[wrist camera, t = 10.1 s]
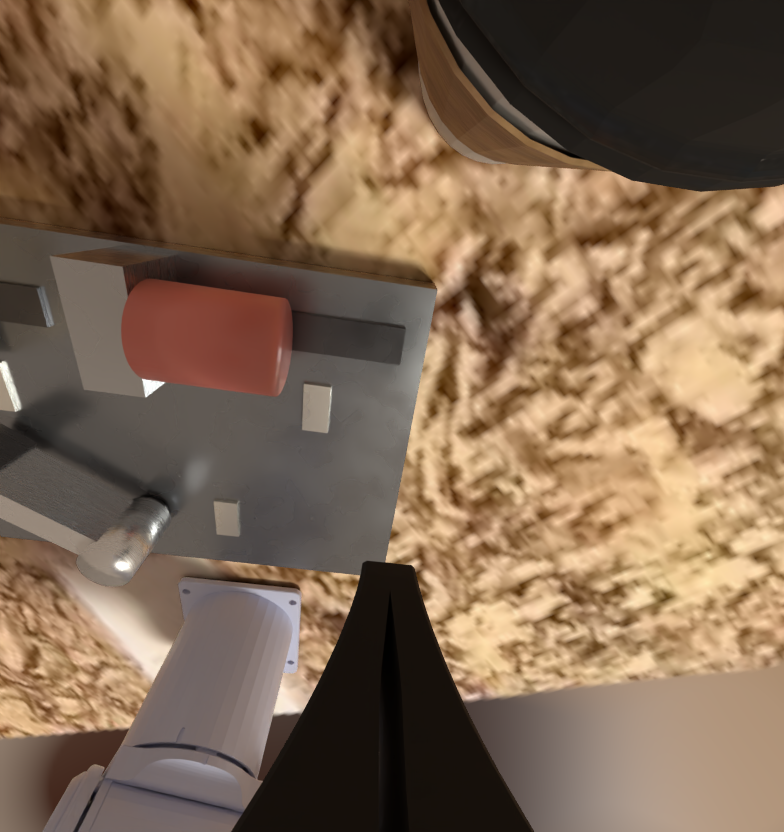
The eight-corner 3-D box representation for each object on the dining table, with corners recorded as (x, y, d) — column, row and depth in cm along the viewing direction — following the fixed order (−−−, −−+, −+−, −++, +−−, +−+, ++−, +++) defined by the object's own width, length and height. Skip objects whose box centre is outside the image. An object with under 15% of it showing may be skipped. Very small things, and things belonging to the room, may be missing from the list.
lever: (179, 513, 21) (140, 567, 18) (159, 538, 22) (119, 593, 18) (0, 416, 18) (-82, 459, 15) (-14, 448, 19) (-94, 496, 16)
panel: (382, 557, 25) (379, 628, 21) (19, 517, 24) (-61, 583, 19) (434, 283, 17) (446, 308, 13) (-112, 200, 16) (-296, 197, 11)
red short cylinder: (292, 374, 17) (267, 413, 14) (183, 359, 17) (132, 396, 13) (293, 289, 15) (266, 311, 12) (172, 271, 15) (111, 289, 12)
